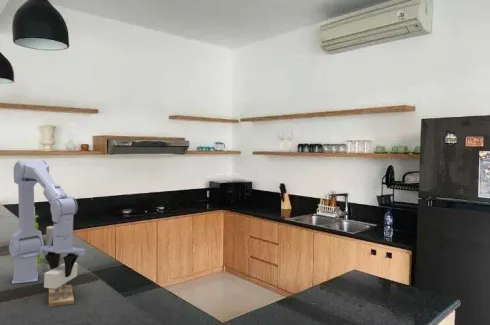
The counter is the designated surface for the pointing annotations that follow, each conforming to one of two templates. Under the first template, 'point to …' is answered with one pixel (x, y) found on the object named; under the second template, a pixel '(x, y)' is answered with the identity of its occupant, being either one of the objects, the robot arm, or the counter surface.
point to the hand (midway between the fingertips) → (61, 275)
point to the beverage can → (49, 237)
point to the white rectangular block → (58, 276)
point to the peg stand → (61, 296)
